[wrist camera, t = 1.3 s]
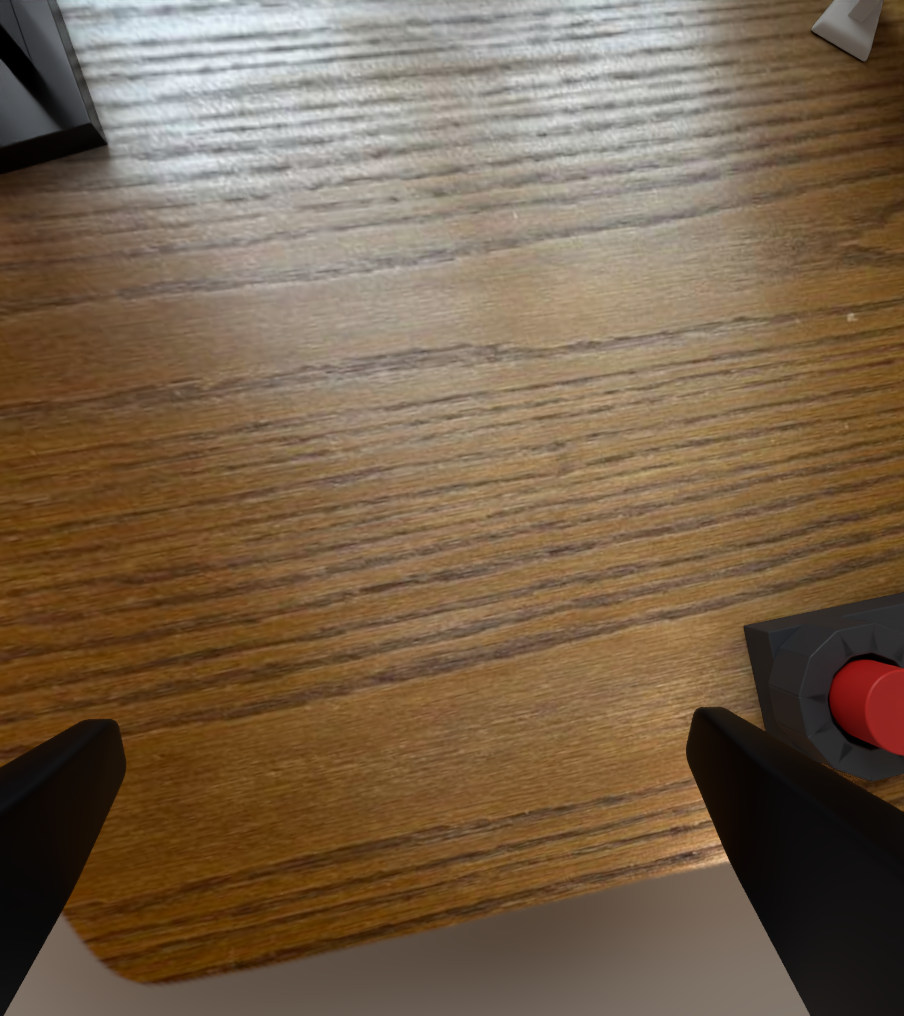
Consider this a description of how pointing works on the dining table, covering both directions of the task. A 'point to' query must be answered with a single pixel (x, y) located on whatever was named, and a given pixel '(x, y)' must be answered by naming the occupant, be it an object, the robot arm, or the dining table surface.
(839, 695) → the stop button
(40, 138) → the lever bracket
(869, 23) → the figurine
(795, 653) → the switch block
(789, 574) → the dining table surface
